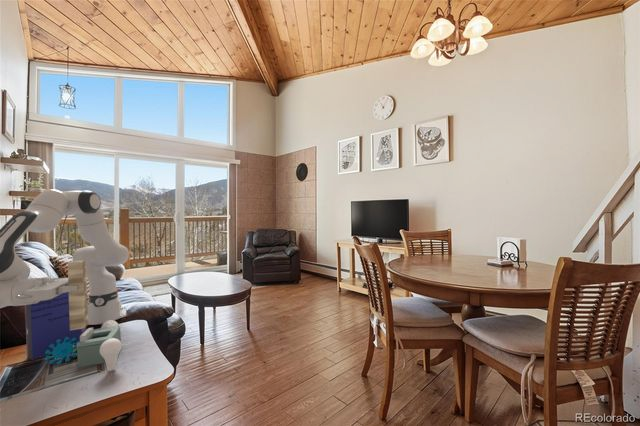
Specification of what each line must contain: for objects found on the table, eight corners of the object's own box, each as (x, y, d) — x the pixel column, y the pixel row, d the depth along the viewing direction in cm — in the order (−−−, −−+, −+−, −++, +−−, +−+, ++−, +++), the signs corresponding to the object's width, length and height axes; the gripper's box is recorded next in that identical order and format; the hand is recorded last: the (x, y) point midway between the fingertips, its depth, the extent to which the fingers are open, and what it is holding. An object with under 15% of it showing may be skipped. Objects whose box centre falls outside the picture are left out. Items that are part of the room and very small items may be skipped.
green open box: (90, 352, 110) (89, 335, 110) (120, 347, 114) (120, 330, 114) (77, 367, 99) (77, 348, 99) (111, 361, 103) (111, 342, 103)
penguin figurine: (116, 316, 125) (124, 325, 117) (117, 335, 125) (125, 345, 118) (99, 321, 120) (106, 330, 112) (99, 340, 121) (106, 351, 113)
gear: (39, 365, 99) (49, 337, 106) (42, 371, 102) (52, 344, 109) (79, 360, 104) (87, 334, 111) (81, 367, 108) (88, 341, 114)
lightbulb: (124, 370, 96) (122, 338, 96) (101, 378, 92) (100, 345, 92) (120, 364, 101) (119, 333, 101) (99, 371, 96) (98, 339, 96)
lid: (89, 334, 110) (89, 326, 110) (120, 329, 114) (119, 321, 114) (77, 347, 99) (76, 338, 99) (111, 341, 103) (110, 333, 103)
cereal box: (81, 338, 124) (78, 284, 124) (87, 340, 122) (84, 285, 122) (27, 357, 108) (24, 296, 108) (32, 360, 106) (29, 297, 106)
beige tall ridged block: (74, 326, 103) (72, 261, 103) (88, 324, 104) (86, 260, 104) (69, 330, 99) (67, 262, 99) (83, 328, 100) (81, 261, 101)
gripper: (11, 288, 87) (67, 283, 92) (45, 276, 106) (90, 272, 111) (12, 309, 87) (68, 302, 92) (46, 293, 106) (91, 288, 111)
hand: (80, 285), depth 102 cm, fingers closed on beige tall ridged block, 4 cm apart
